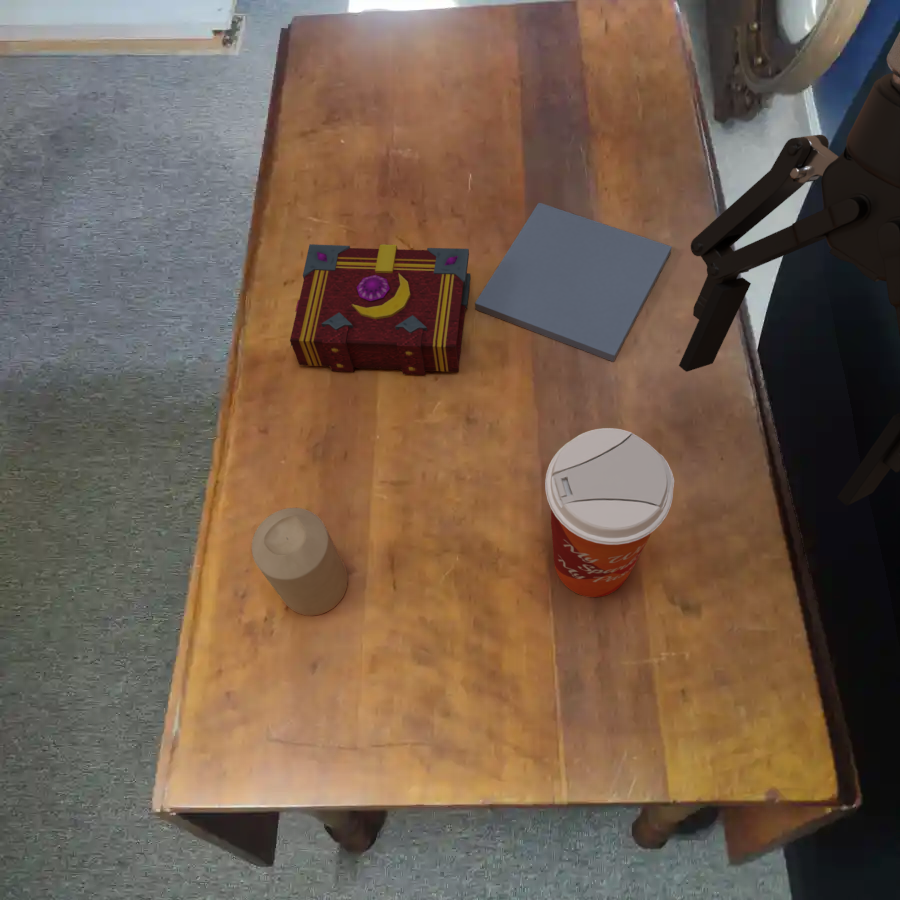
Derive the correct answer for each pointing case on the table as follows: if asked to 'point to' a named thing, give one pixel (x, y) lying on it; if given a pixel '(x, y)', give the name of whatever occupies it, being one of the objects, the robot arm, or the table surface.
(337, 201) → the table surface
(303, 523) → the candle
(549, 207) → the cup mat
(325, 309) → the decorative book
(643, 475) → the coffee cup
